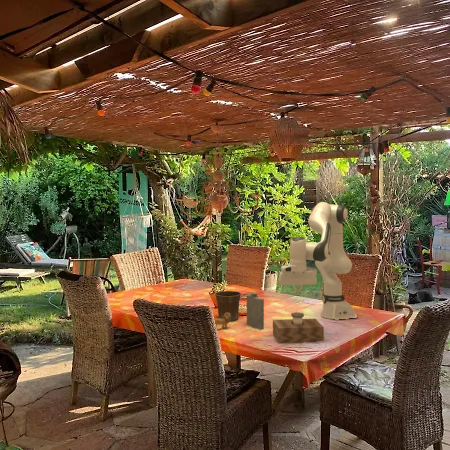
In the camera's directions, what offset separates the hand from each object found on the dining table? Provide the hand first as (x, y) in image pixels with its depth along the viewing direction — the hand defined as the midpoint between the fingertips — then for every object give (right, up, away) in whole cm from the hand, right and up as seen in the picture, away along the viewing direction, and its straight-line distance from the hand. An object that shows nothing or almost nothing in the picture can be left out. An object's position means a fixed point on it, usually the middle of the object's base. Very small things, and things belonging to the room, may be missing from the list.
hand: (297, 293), depth 249 cm
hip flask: (-22, -23, +24) cm, 40 cm away
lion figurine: (-42, -24, +19) cm, 52 cm away
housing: (0, -25, +2) cm, 25 cm away
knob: (0, -18, +1) cm, 18 cm away
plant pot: (-37, -22, +40) cm, 59 cm away
